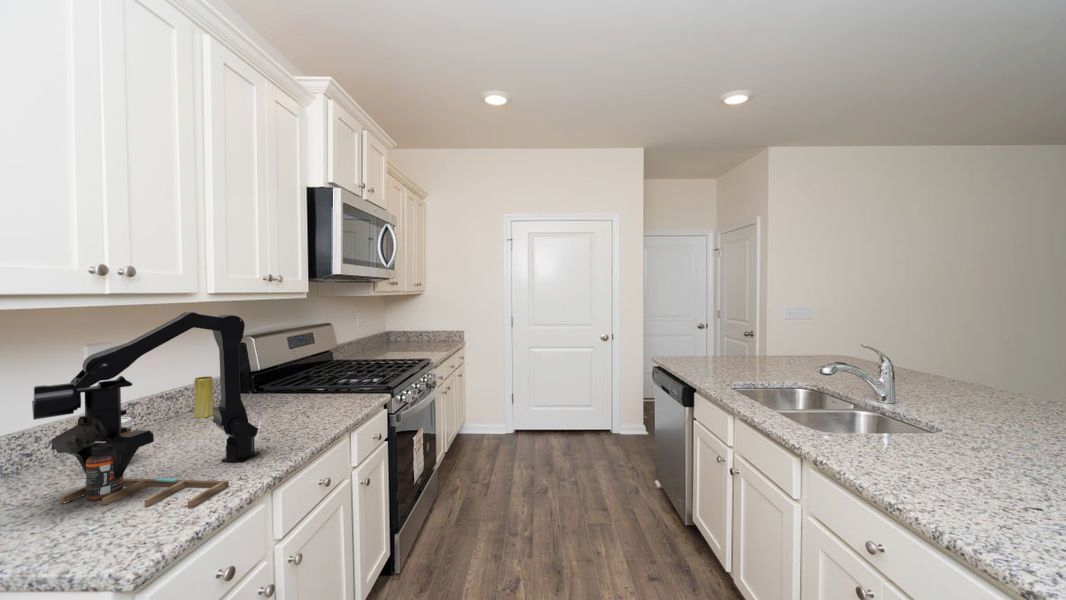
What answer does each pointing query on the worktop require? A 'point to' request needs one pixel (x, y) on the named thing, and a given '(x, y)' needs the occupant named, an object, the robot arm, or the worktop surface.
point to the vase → (203, 397)
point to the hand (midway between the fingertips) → (104, 477)
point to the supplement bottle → (101, 474)
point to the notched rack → (164, 482)
